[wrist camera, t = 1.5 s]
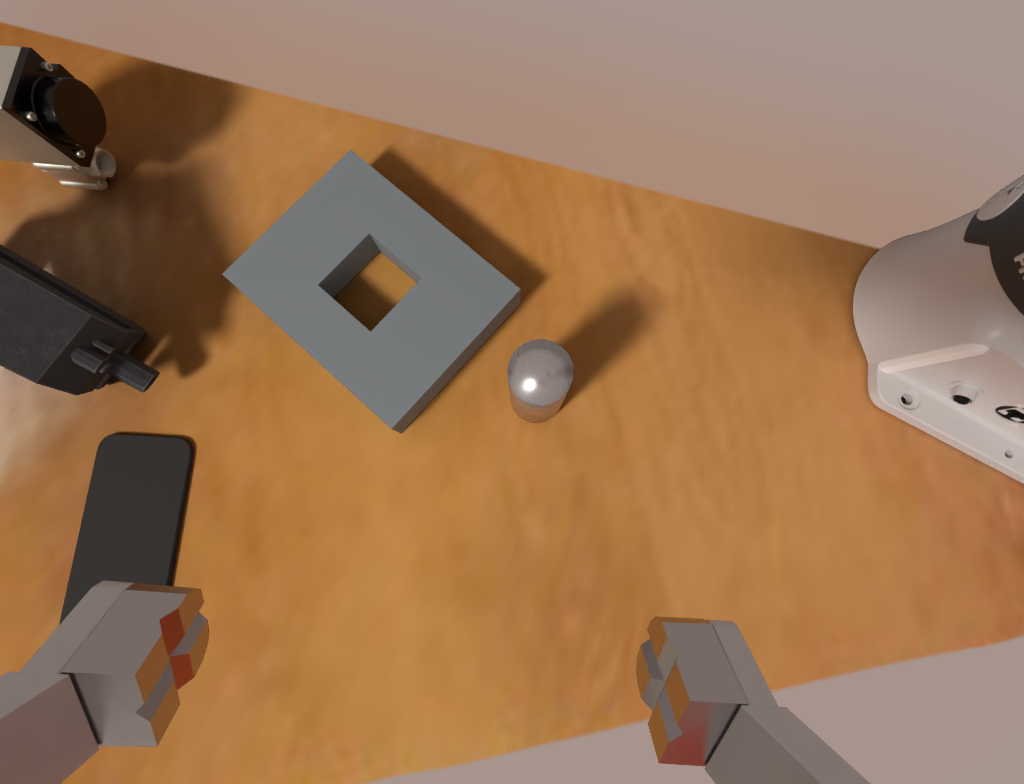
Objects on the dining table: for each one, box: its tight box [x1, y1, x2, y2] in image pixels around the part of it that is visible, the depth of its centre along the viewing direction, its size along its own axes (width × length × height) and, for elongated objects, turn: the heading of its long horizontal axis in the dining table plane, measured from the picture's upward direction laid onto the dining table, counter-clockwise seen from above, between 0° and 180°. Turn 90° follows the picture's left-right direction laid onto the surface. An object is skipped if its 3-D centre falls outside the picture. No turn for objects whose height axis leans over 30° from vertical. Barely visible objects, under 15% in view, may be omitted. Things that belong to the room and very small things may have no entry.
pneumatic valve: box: [0, 45, 116, 191], centre depth 38 cm, size 6×12×12 cm, turn 84°
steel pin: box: [508, 339, 574, 423], centre depth 35 cm, size 4×4×9 cm
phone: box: [60, 434, 194, 624], centre depth 38 cm, size 7×1×15 cm
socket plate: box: [222, 150, 521, 433], centre depth 40 cm, size 18×14×3 cm
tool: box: [0, 244, 160, 395], centre depth 37 cm, size 6×19×15 cm, turn 58°
